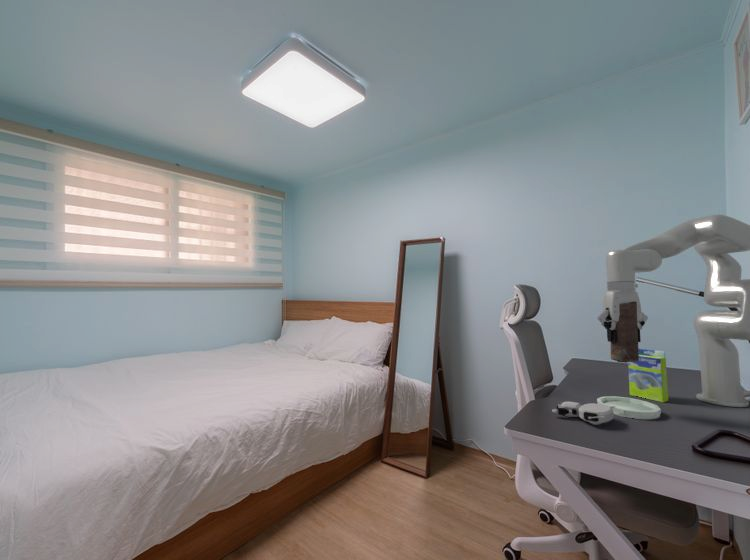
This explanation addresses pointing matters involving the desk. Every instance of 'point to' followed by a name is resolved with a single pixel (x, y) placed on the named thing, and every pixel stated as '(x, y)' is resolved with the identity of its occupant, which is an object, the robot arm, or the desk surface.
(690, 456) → the desk surface
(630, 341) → the rusty brown cylinder
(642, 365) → the box
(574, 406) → the robot toy
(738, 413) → the desk surface
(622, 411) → the dish
